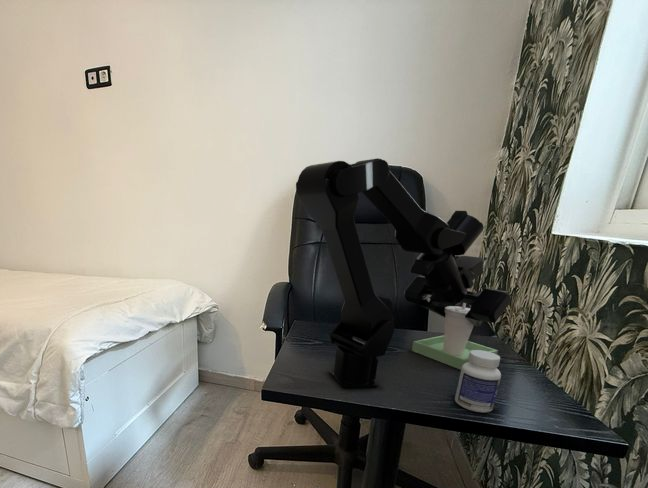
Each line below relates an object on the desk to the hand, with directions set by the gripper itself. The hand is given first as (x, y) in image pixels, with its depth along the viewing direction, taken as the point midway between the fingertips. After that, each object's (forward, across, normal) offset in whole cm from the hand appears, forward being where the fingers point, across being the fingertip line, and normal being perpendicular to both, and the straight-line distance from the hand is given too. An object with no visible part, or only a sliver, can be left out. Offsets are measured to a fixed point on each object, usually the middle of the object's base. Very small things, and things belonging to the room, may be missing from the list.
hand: (463, 321), depth 77 cm
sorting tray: (+5, 0, +6) cm, 8 cm away
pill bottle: (-8, -15, +19) cm, 26 cm away
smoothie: (+4, 0, +6) cm, 7 cm away
